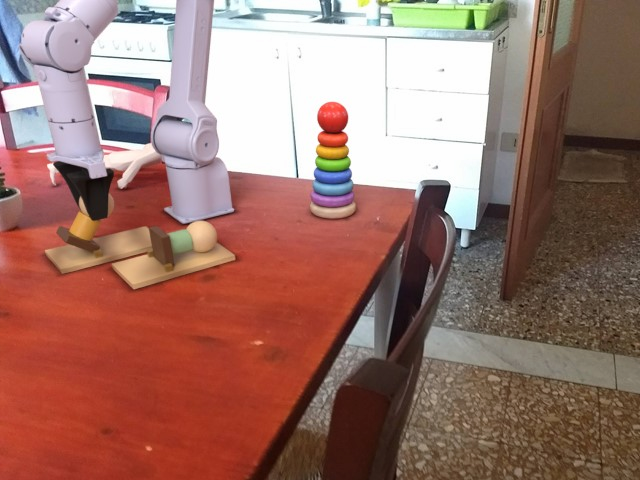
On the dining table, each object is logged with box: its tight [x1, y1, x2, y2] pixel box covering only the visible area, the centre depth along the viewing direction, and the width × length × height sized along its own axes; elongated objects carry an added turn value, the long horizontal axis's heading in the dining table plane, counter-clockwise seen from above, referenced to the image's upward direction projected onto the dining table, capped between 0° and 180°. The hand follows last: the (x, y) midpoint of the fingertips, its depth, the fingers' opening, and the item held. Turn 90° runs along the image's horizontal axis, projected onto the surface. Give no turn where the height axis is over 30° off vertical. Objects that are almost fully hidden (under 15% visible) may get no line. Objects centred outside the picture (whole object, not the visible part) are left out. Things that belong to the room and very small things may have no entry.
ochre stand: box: [44, 226, 152, 275], centre depth 94 cm, size 15×8×2 cm, turn 131°
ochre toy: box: [56, 192, 115, 253], centre depth 91 cm, size 9×5×5 cm
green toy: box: [148, 220, 218, 266], centre depth 91 cm, size 9×5×5 cm, turn 131°
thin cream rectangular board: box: [111, 241, 236, 290], centre depth 91 cm, size 15×8×2 cm, turn 131°
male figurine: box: [46, 142, 163, 190], centre depth 122 cm, size 14×6×25 cm
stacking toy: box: [309, 101, 357, 220], centre depth 106 cm, size 8×8×19 cm
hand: (93, 213), depth 91 cm, fingers closed on ochre toy, 4 cm apart
